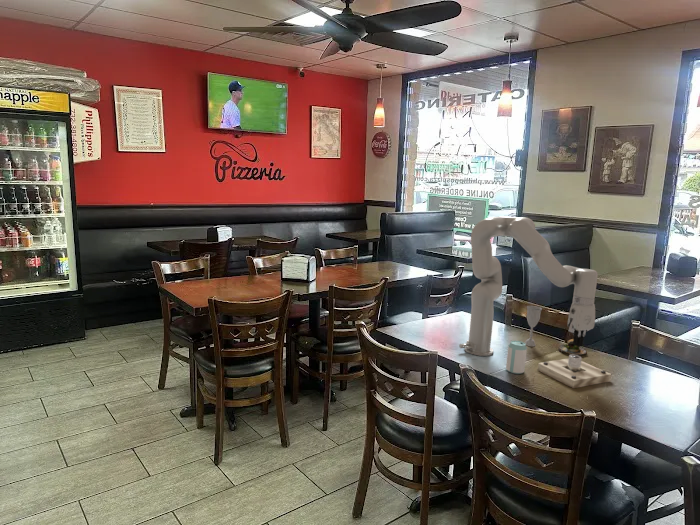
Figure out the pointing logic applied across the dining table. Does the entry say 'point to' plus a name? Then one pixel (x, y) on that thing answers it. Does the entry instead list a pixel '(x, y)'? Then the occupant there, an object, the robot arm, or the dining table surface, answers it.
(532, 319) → the chalice
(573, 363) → the bushing
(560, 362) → the plate
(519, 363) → the can
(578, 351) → the burger
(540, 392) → the dining table surface
